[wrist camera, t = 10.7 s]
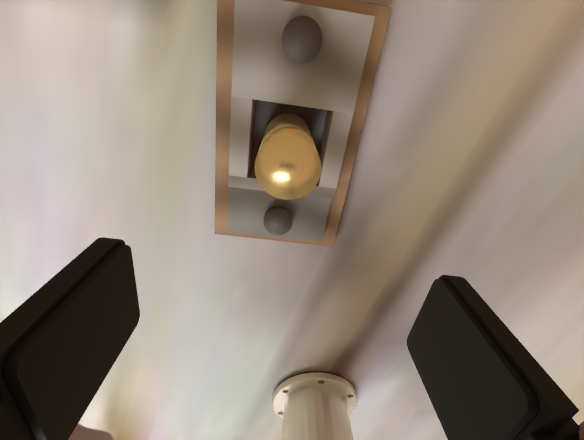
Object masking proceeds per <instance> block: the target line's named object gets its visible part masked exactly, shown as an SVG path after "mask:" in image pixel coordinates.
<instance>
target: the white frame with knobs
mask: <svg viewBox="0 0 584 440" xmlns="http://www.w3.org/2000/svg"><path fill="white" fill-rule="evenodd" d="M391 10H392V7H387V6H381V5H376V4H370V3H365V2H359V1H353V0H217V82H216V170H215V234H222V235H231V236H241V237H250V238H259V239H269V240H278V241H287V242H296V243H306V244H315V245H324V246H334V242H335V238H336V234H337V230H338V226H339V222H340V217H341V213H342V209H343V205H344V201H345V197H346V193H347V189H348V185H349V181H350V177H351V173H352V169H353V165H354V160H355V156H356V152H357V148H358V144H359V140H360V136H361V132H362V128H363V124H364V120H365V116H366V112H367V108H368V103H369V99H370V95H371V91H372V87H373V83H374V79H375V75H376V71H377V67H378V63H379V59H380V55H381V51H382V47H383V42H384V38H385V34H386V30H387V26H388V22H389V18H390V14H391ZM256 100H261V101H268V102H275V103H282V104H289V105H296V106H302V107H309V108H316V109H323V110H327V114H326V119H325V125H324V130H323V136H322V141H321V147H320V152H319V158H320V161H321V174H320V178H319V180H318V182H317V184H316V186H315V187H314V188H313V189H312V190H311V191H310V192H309V193H308V194H306V195H305V196H303V197H301V198H297V199H293V200H283V199H278V198H275V197H273V196H271V195H270V194H268V193H267V192H266V191H264V190H263V188H262V187H261V186H260V184H259V183H258V181H257V178H256V175H255V166H251V164H252V150H253V136H254V123H255V109H256Z"/></svg>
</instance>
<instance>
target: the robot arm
mask: <svg viewBox="0 0 584 440" xmlns="http://www.w3.org/2000/svg"><path fill="white" fill-rule="evenodd" d="M139 317H140V311H139V303H138V296H137V289H136V282H135V274H134V267H133V260H132V253H131V248H130V246H128V245H125V242H124V241H123V240H120V239H111V238H98V239H97V240H96V241H94V242H93V243H92V244H91V245H90V246H89V247H88V248H86V249H85V250H84V251H83V252H82V253H81V254H79V255H78V256H77V257H76V258H75V259H74V260H73V261H71V262H70V263H69V264H68V265H67V266H66V267H64V268H63V269H62V270H61V271H60V272H59V273H57V274H56V275H55V276H54V277H53V278H52V279H51V280H49V281H48V282H47V283H46V284H45V285H44V286H42V287H41V288H40V289H39V290H38V291H37V292H36V293H34V294H33V295H32V296H31V297H30V298H29V299H27V300H26V301H25V302H24V303H23V304H22V305H21V306H19V307H18V308H17V309H16V310H15V311H14V312H12V313H11V314H10V315H9V316H8V317H7V318H5V319H4V320H3V321H2V322H1V323H0V440H68V438H69V437H70V435H71V434H72V432H73V431H74V429H75V427H76V425H77V424H78V422H79V421H80V419H81V417H82V416H83V414H84V412H85V411H86V409H87V407H88V406H89V404H90V402H91V401H92V399H93V397H94V396H95V394H96V392H97V391H98V389H99V387H100V386H101V384H102V382H103V381H104V379H105V377H106V376H107V374H108V372H109V371H110V369H111V367H112V366H113V364H114V362H115V361H116V359H117V357H118V356H119V354H120V352H121V351H122V349H123V347H124V346H125V344H126V342H127V341H128V339H129V337H130V336H131V334H132V332H133V331H134V329H135V327H136V326H137V324H138V321H139ZM407 346H408V350H409V352H410V354H411V357H412V359H413V361H414V363H415V366H416V368H417V370H418V373H419V375H420V377H421V379H422V382H423V384H424V386H425V388H426V391H427V393H428V395H429V398H430V400H431V402H432V404H433V407H434V409H435V411H436V413H437V416H438V418H439V420H440V423H441V425H442V427H443V429H444V432H445V434H446V436H447V438H448V440H584V421H583V422H582V423H581V424H580V425H577V424H576V422H575V421H574V420H573V419H572V417H573V416H574V415H575V414H576V413H577V412H578V411H579V409H578V408H577V407H576V406H575V405H574V404H573V403H572V401H571V400H570V399H569V398H568V397H567V396H566V395H565V393H564V392H563V391H562V390H561V389H560V388H559V386H558V385H557V384H556V383H555V382H554V381H553V380H552V378H551V377H550V376H549V375H548V374H547V373H546V372H545V370H544V369H543V368H542V367H541V366H540V365H539V363H538V362H537V361H536V360H535V359H534V358H533V357H532V355H531V354H530V353H529V352H528V351H527V350H526V348H525V347H524V346H523V345H522V344H521V343H520V342H519V340H518V339H517V338H516V337H515V336H514V335H513V334H512V332H511V331H510V330H509V329H508V328H507V327H506V325H505V324H504V323H503V322H502V321H501V320H500V319H499V317H498V316H497V315H496V314H495V313H494V312H493V311H492V309H491V308H490V307H489V306H488V305H487V304H486V302H485V301H484V300H483V299H482V298H481V297H480V296H479V294H478V293H477V292H476V291H475V290H474V289H473V288H472V286H471V285H470V284H469V283H468V282H467V281H466V280H465V279H464V278H463V277H458V276H449V275H442V276H441V277H439V279H436V280H435V281H434V282H433V284H432V286H431V288H430V291H429V293H428V295H427V297H426V299H425V301H424V303H423V306H422V308H421V310H420V312H419V314H418V316H417V318H416V320H415V323H414V325H413V327H412V329H411V331H410V333H409V335H408V338H407ZM356 403H357V397H356V393H355V389H354V388H353V386H352V385H351V384H350V383H349V382H348V381H347V380H345V379H343V378H342V377H339V376H337V375H333V374H329V373H321V372H311V373H304V374H300V375H296V376H294V377H291V378H289V379H287V380H285V381H284V382H282V383H281V384H280V385H279V386H278V387H277V388H276V390H275V391H274V394H273V403H272V404H273V409H274V411H275V413H276V414H277V415H278V416H279V417H280V418H281V419H283V440H353V435H352V430H351V424H350V419H349V415H350V414H351V413H352V412H353V410H354V409H355V407H356Z"/></svg>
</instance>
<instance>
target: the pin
mask: <svg viewBox="0 0 584 440" xmlns="http://www.w3.org/2000/svg"><path fill="white" fill-rule="evenodd" d="M320 174H321V161H320V158H319V155H318V152H317V149H316V147H315V144H314V141H313V139H312V136H311V133H310V131H309V128H308V126H307V124H306V122H305V121H304V120H303V119H302V118H300V117H299V116H297V115H295V114H291V113H284V114H280V115H278V116H276V117H274V118H273V119H272V120H271V121H270V122H269V124H268V125H267V127H266V130H265V133H264V136H263V139H262V142H261V145H260V148H259V151H258V154H257V157H256V160H255V175H256V178H257V181H258V183H259V184H260V186H261V187H262V188H263V190H264V191H266V192H267V193H268V194H270V195H271V196H273V197H275V198H278V199H283V200H293V199H297V198H301V197H303V196H305V195H306V194H308V193H309V192H310V191H311V190H312V189H313V188H314V187H315V186H316V184H317V182H318V180H319V178H320Z"/></svg>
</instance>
